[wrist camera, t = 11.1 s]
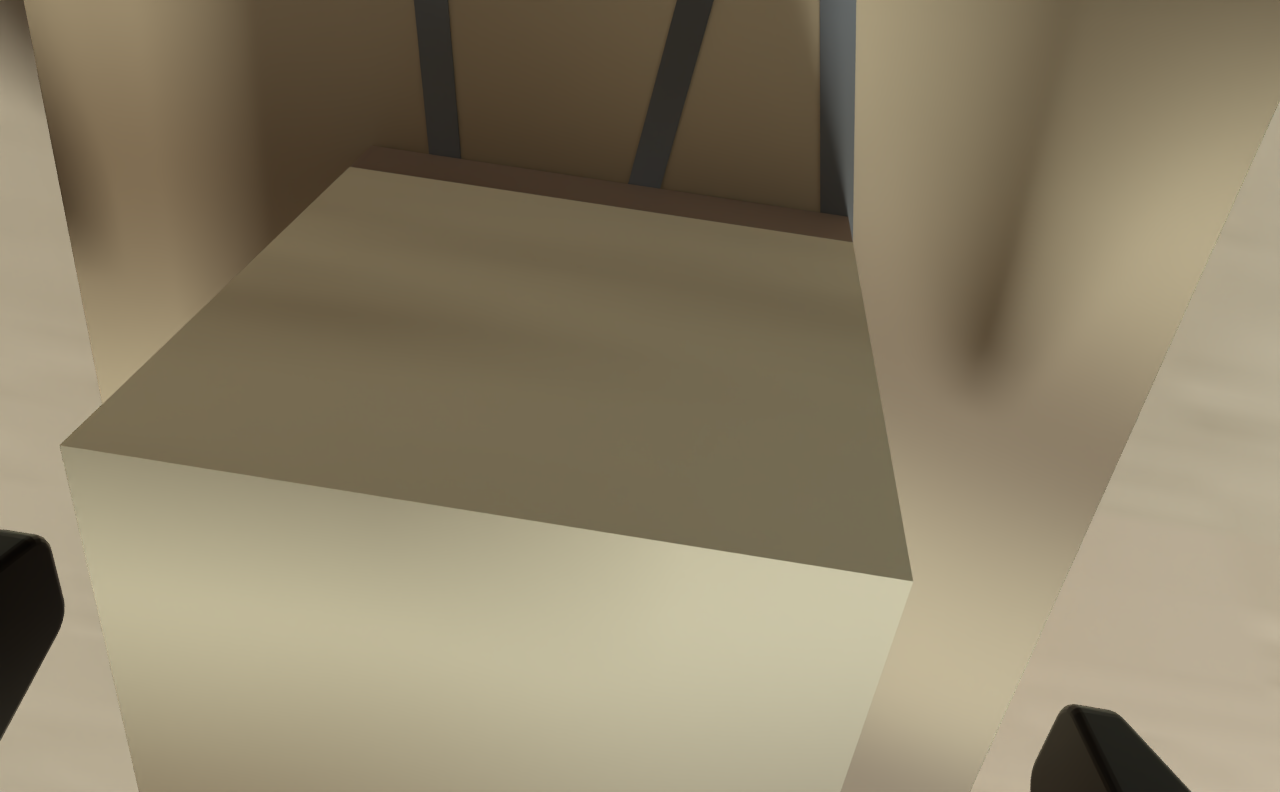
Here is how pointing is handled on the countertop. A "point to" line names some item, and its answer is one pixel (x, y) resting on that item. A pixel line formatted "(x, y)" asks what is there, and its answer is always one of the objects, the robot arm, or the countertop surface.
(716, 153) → the board
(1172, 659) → the countertop surface
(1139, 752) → the robot arm
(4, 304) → the countertop surface
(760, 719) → the block
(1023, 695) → the countertop surface
